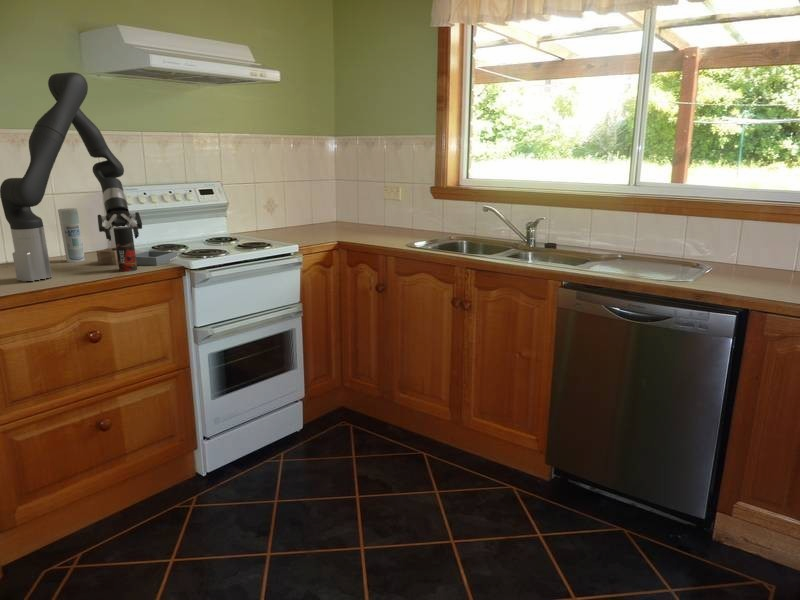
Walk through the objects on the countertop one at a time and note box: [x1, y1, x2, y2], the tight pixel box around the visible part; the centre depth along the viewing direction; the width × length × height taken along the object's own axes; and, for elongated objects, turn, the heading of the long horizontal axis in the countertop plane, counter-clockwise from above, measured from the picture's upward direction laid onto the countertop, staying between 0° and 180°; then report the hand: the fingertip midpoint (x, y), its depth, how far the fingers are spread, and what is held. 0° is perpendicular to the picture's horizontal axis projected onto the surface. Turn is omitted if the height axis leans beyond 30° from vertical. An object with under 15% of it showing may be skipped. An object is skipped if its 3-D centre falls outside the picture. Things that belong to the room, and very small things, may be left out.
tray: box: [135, 250, 178, 267], centre depth 224 cm, size 13×13×3 cm
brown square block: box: [96, 246, 119, 266], centre depth 223 cm, size 8×8×5 cm
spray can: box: [57, 207, 86, 263], centre depth 226 cm, size 6×6×20 cm
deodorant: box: [112, 226, 138, 273], centre depth 208 cm, size 6×6×15 cm
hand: (123, 238), depth 209 cm, fingers open, 8 cm apart
